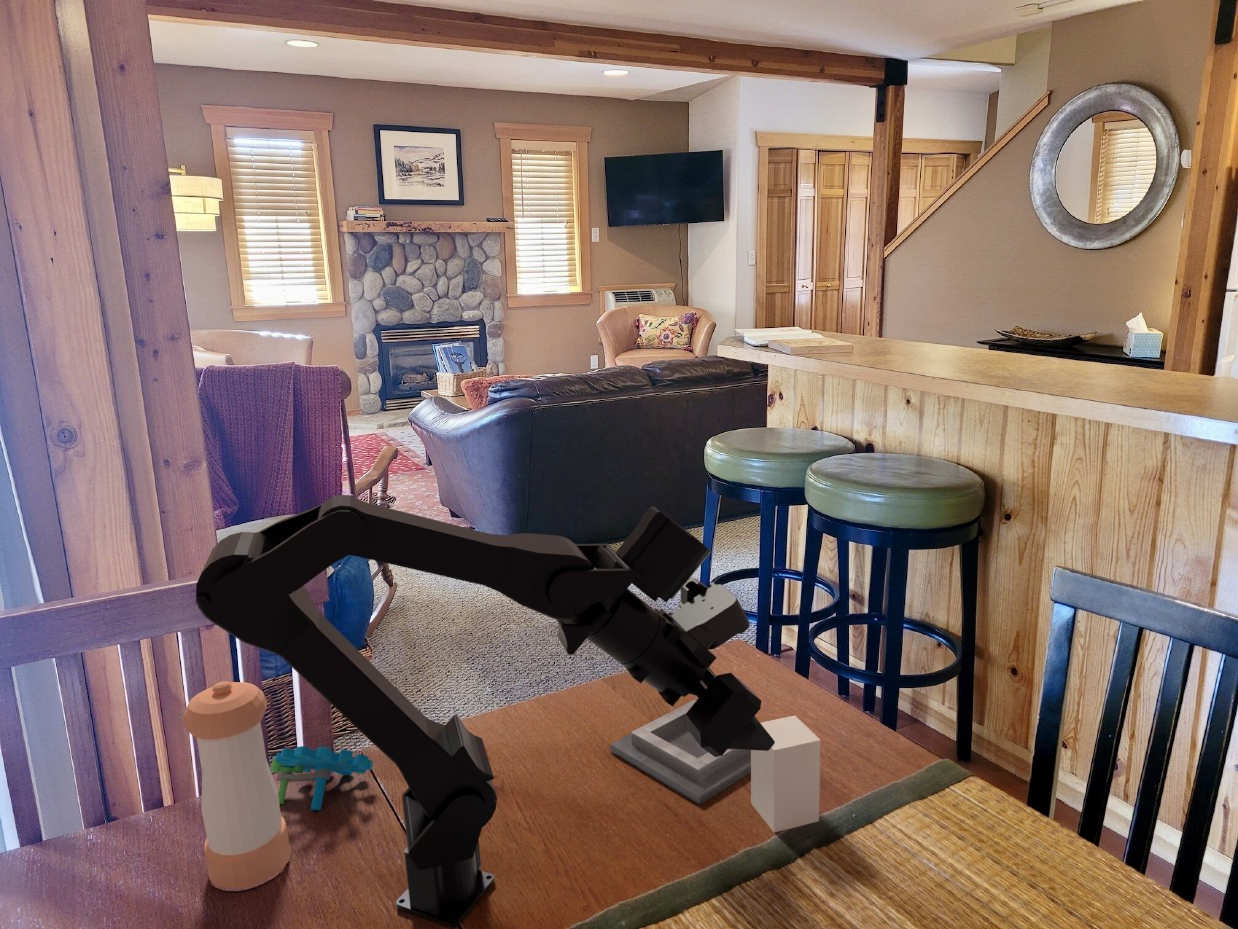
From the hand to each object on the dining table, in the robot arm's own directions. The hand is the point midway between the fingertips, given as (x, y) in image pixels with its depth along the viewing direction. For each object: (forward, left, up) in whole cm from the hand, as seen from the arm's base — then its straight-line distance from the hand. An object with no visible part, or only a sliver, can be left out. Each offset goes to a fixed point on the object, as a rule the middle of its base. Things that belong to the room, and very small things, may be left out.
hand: (749, 721), depth 84 cm
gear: (-13, +44, -11) cm, 47 cm away
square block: (+3, -3, -11) cm, 12 cm away
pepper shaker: (-24, +42, -11) cm, 50 cm away
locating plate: (+10, +9, -11) cm, 17 cm away
